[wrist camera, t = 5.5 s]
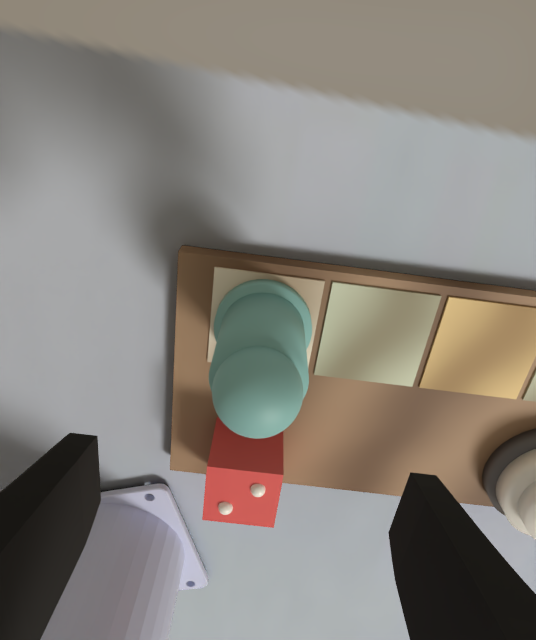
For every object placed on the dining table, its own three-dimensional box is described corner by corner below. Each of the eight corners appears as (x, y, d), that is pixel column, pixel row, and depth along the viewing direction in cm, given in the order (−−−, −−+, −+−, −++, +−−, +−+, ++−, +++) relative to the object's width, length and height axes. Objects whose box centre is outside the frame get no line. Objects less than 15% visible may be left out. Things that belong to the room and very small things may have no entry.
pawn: (229, 371, 19) (209, 479, 14) (204, 289, 17) (169, 376, 12) (318, 355, 19) (333, 461, 13) (301, 270, 17) (310, 351, 12)
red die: (212, 466, 22) (201, 525, 19) (217, 417, 20) (205, 472, 17) (274, 474, 22) (273, 533, 19) (283, 424, 20) (283, 480, 17)
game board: (173, 458, 23) (166, 481, 21) (182, 245, 18) (174, 257, 16) (565, 502, 23) (582, 528, 22) (679, 309, 18) (710, 326, 17)
